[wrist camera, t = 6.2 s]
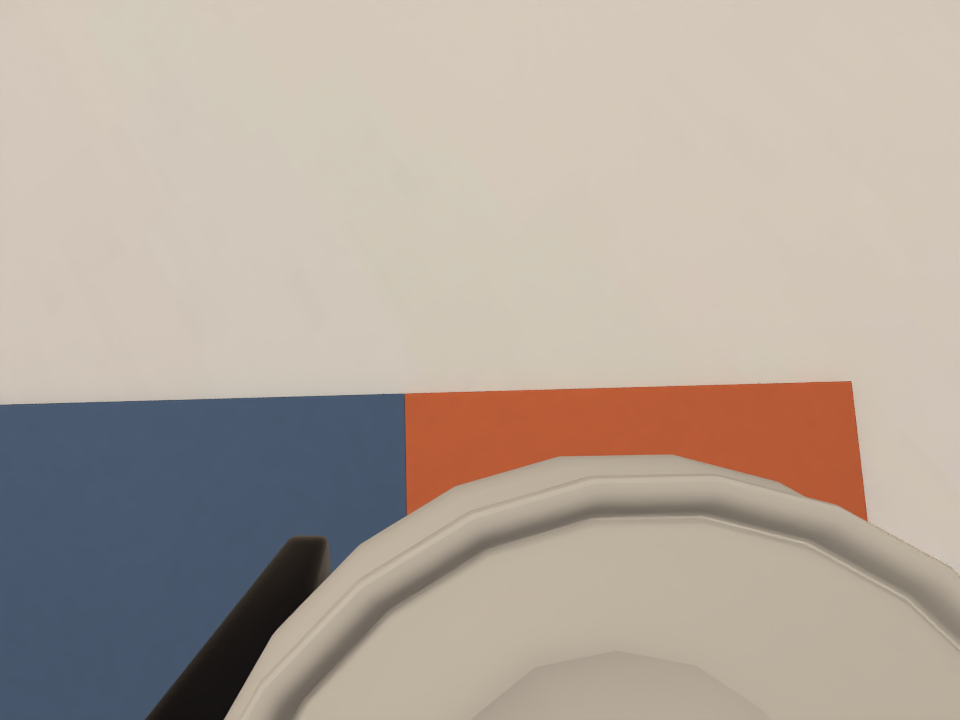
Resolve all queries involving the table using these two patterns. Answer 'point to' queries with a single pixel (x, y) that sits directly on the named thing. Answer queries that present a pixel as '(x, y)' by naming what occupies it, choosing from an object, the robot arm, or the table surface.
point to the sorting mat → (306, 502)
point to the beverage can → (620, 607)
